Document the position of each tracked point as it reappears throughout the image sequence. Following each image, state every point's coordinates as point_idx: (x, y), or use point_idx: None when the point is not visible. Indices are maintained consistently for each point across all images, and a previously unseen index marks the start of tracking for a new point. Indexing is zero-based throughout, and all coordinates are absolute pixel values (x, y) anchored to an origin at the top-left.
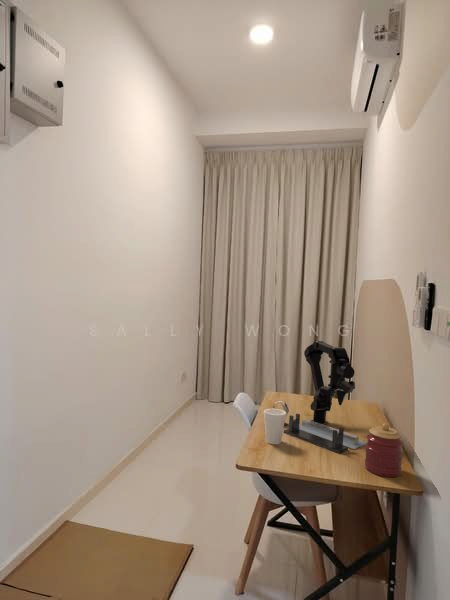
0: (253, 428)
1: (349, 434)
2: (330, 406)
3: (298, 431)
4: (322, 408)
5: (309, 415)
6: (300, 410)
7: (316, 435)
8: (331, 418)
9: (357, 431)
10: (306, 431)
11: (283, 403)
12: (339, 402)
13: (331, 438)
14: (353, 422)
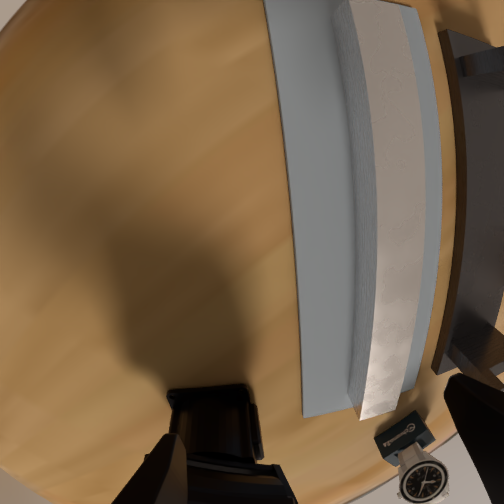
0: None
1: (383, 57)
2: (471, 385)
3: (469, 325)
4: (240, 473)
5: None
6: None
7: (438, 259)
8: (99, 413)
9: (92, 196)
10: (426, 326)
11: (442, 491)
12: (181, 478)
13: None
14: (18, 323)
